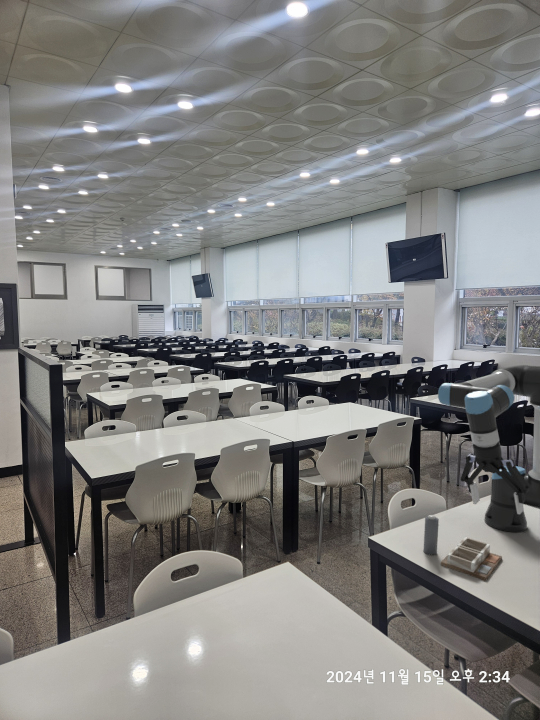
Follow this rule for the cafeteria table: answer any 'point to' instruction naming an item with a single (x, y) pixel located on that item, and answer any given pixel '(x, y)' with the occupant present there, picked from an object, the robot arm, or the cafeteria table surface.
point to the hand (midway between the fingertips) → (497, 507)
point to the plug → (431, 535)
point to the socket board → (472, 558)
